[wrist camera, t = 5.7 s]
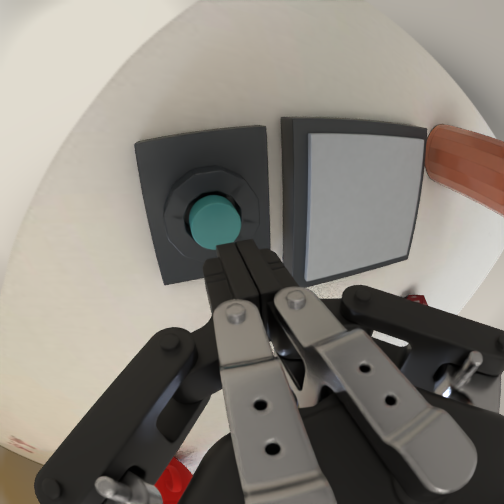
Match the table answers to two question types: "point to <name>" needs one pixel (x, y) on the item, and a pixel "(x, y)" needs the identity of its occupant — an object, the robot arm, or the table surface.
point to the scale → (348, 195)
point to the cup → (467, 164)
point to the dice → (417, 299)
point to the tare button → (214, 221)
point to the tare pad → (202, 191)
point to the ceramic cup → (173, 482)
